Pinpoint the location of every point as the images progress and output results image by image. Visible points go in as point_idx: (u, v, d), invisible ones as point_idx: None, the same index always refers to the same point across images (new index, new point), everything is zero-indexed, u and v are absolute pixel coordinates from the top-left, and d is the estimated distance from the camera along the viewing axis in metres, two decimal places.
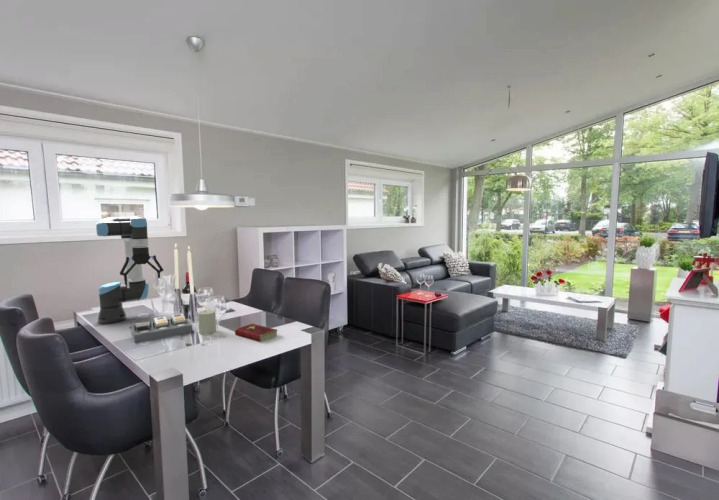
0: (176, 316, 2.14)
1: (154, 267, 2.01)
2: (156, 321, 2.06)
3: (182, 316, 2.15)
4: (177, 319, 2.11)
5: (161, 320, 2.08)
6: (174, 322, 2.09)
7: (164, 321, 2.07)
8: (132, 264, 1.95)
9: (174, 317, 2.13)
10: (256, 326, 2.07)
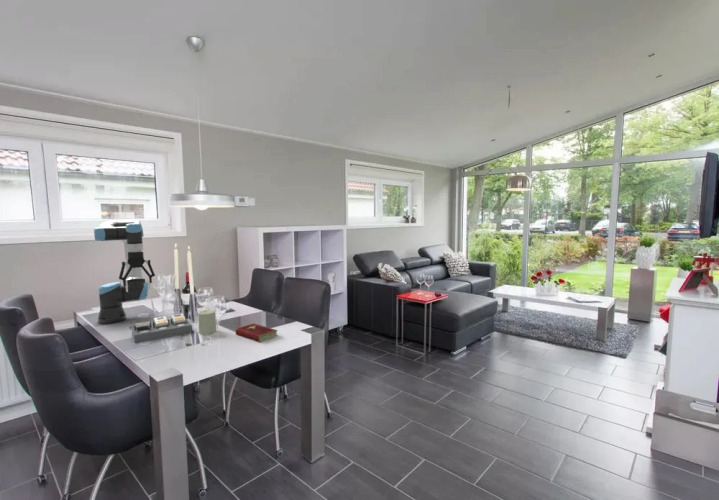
0: (176, 316, 2.14)
1: (147, 272, 2.11)
2: (156, 321, 2.06)
3: (182, 316, 2.15)
4: (177, 319, 2.11)
5: (161, 320, 2.08)
6: (174, 322, 2.09)
7: (164, 321, 2.07)
8: (128, 268, 2.06)
9: (174, 317, 2.13)
10: (257, 326, 2.07)
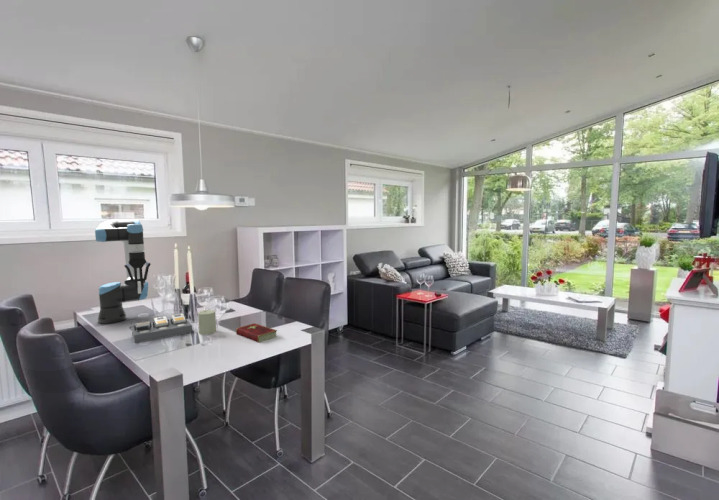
0: (176, 316, 2.14)
1: (141, 275, 2.09)
2: (156, 321, 2.06)
3: (182, 316, 2.15)
4: (177, 319, 2.11)
5: (161, 320, 2.08)
6: (174, 322, 2.09)
7: (164, 321, 2.07)
8: (134, 270, 2.07)
9: (174, 317, 2.13)
10: (257, 326, 2.07)
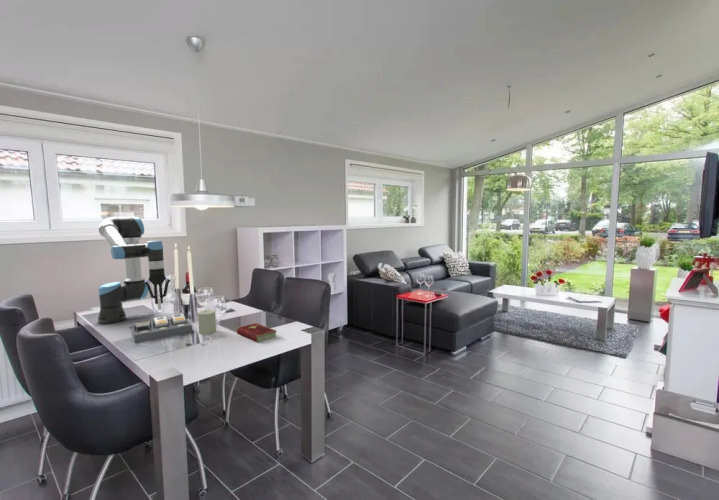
0: (176, 316, 2.14)
1: (161, 291, 2.09)
2: (156, 321, 2.06)
3: (182, 316, 2.15)
4: (177, 319, 2.11)
5: (161, 320, 2.08)
6: (174, 322, 2.09)
7: (164, 321, 2.07)
8: (154, 286, 2.07)
9: (174, 317, 2.13)
10: (258, 326, 2.07)
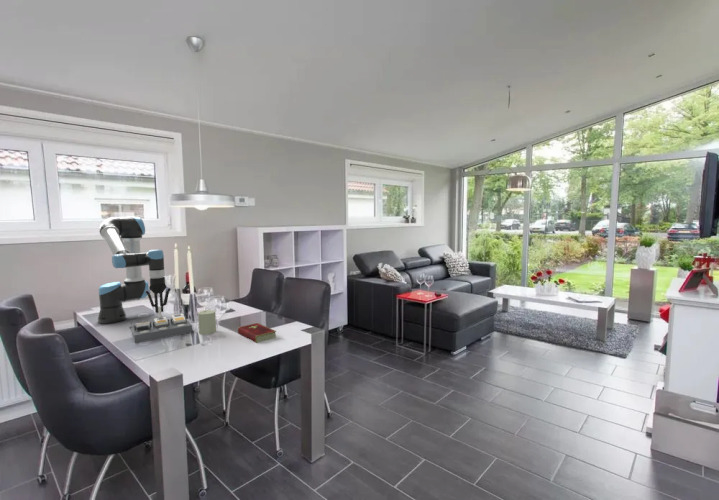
0: (176, 316, 2.14)
1: (161, 300, 2.10)
2: (156, 321, 2.06)
3: (182, 316, 2.15)
4: (177, 319, 2.11)
5: (161, 320, 2.08)
6: (174, 322, 2.09)
7: (164, 320, 2.07)
8: (154, 295, 2.08)
9: (174, 317, 2.13)
10: (258, 326, 2.07)
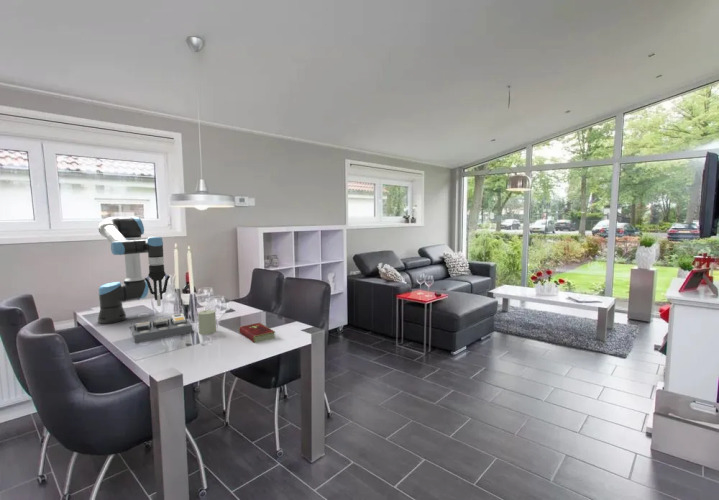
0: (176, 316, 2.14)
1: (161, 287, 2.09)
2: None
3: (182, 316, 2.15)
4: (177, 319, 2.11)
5: None
6: (174, 322, 2.09)
7: None
8: None
9: (174, 317, 2.13)
10: (259, 326, 2.08)
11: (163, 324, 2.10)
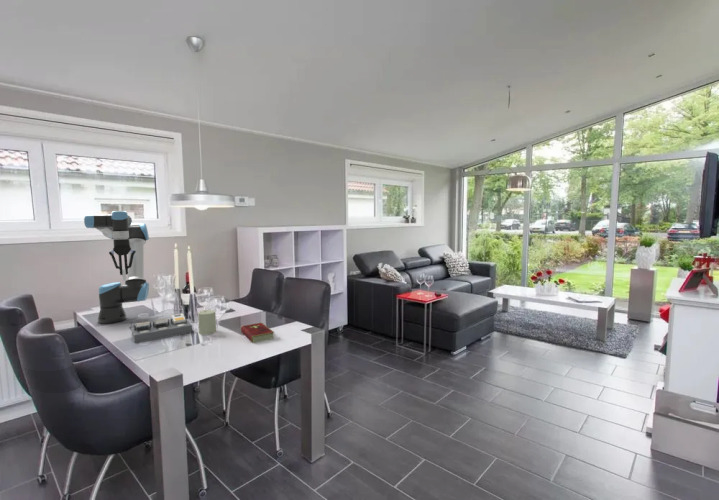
0: (176, 316, 2.14)
1: (126, 262, 2.08)
2: None
3: (182, 316, 2.15)
4: (177, 319, 2.11)
5: None
6: (174, 322, 2.09)
7: (164, 319, 2.07)
8: None
9: (174, 317, 2.13)
10: (260, 326, 2.08)
11: (163, 324, 2.10)
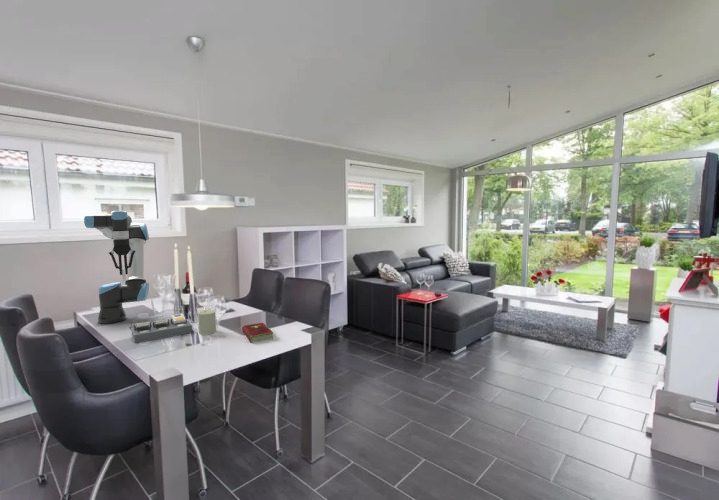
0: (176, 316, 2.14)
1: (126, 262, 2.08)
2: None
3: (182, 316, 2.15)
4: (177, 319, 2.11)
5: None
6: (174, 322, 2.09)
7: (164, 319, 2.07)
8: None
9: (174, 317, 2.13)
10: (261, 326, 2.08)
11: (163, 324, 2.10)
